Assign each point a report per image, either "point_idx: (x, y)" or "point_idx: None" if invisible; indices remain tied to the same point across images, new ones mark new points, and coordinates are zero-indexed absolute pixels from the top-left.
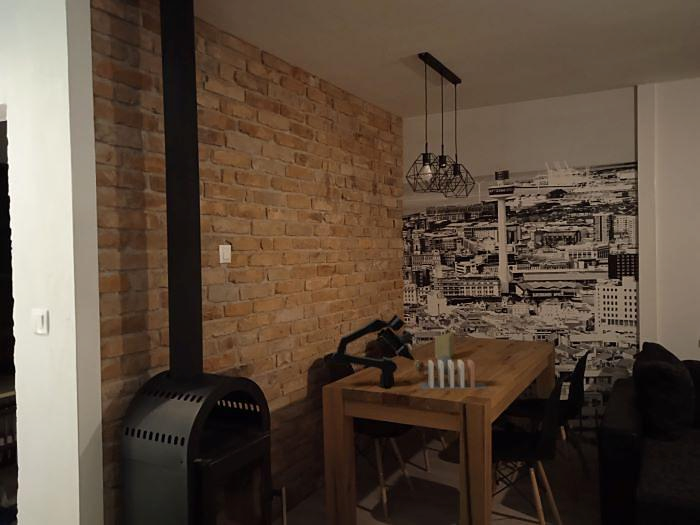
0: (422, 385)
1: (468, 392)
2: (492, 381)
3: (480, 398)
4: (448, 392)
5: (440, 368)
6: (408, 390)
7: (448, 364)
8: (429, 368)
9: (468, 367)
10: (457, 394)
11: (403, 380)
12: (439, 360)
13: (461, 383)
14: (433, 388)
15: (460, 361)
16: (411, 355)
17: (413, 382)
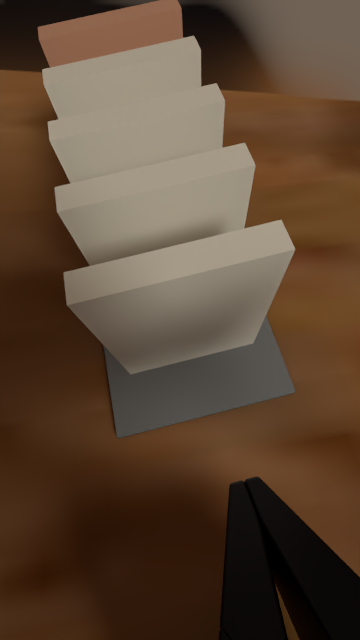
0: (201, 404)
1: (263, 170)
2: (33, 116)
3: (354, 123)
4: (297, 245)
5: (245, 204)
6: (344, 493)
7: (101, 163)
8: (209, 304)
9: None
10: (322, 205)
11: (15, 601)
12: (97, 193)
13: None
14: (265, 323)
15: (121, 61)
16: (329, 550)
17: (81, 494)
